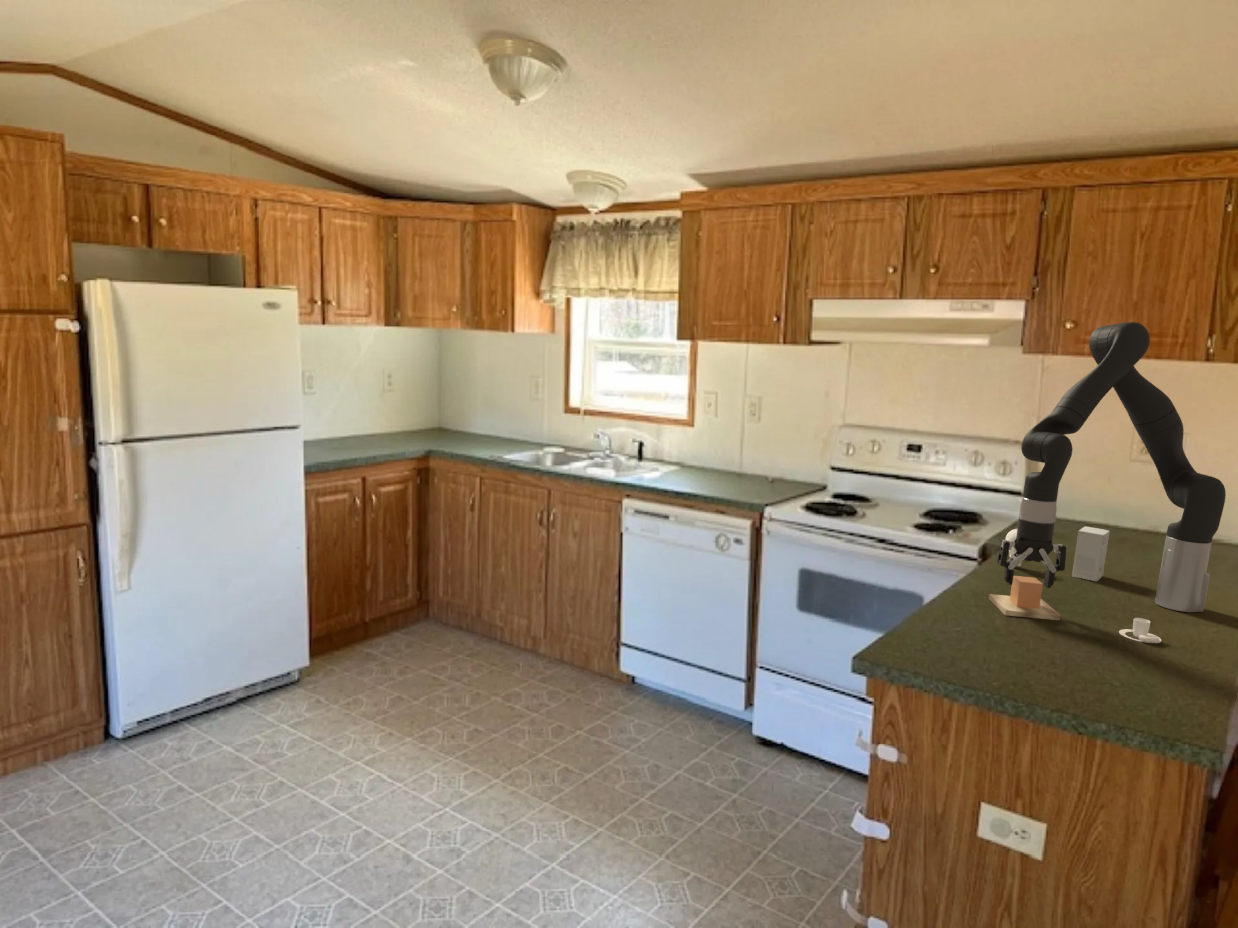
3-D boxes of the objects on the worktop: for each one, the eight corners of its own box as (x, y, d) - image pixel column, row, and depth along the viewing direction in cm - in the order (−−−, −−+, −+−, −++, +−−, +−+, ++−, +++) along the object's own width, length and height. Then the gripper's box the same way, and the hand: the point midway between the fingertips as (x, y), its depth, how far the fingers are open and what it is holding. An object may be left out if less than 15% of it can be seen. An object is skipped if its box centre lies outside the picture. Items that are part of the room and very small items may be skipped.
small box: (1077, 571, 234) (1084, 525, 232) (1103, 576, 230) (1110, 530, 228) (1070, 576, 228) (1078, 530, 225) (1097, 582, 224) (1104, 534, 221)
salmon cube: (1031, 601, 199) (1035, 577, 198) (1039, 608, 194) (1042, 583, 193) (1009, 599, 199) (1012, 575, 198) (1016, 606, 194) (1020, 581, 193)
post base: (1040, 603, 202) (1043, 582, 201) (1060, 620, 190) (1063, 598, 189) (988, 598, 203) (991, 578, 202) (1005, 615, 191) (1008, 593, 190)
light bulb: (1030, 571, 230) (1036, 533, 228) (1005, 569, 231) (1010, 530, 229) (1024, 565, 236) (1029, 527, 234) (999, 562, 237) (1004, 525, 236)
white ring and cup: (1161, 649, 177) (1164, 630, 176) (1117, 639, 181) (1120, 621, 180) (1161, 637, 184) (1164, 619, 183) (1119, 628, 188) (1122, 611, 187)
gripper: (1062, 516, 196) (1053, 583, 198) (999, 512, 197) (991, 578, 200) (1076, 524, 188) (1066, 593, 191) (1010, 519, 190) (1001, 587, 193)
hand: (1027, 585), depth 195 cm, fingers open, 8 cm apart
